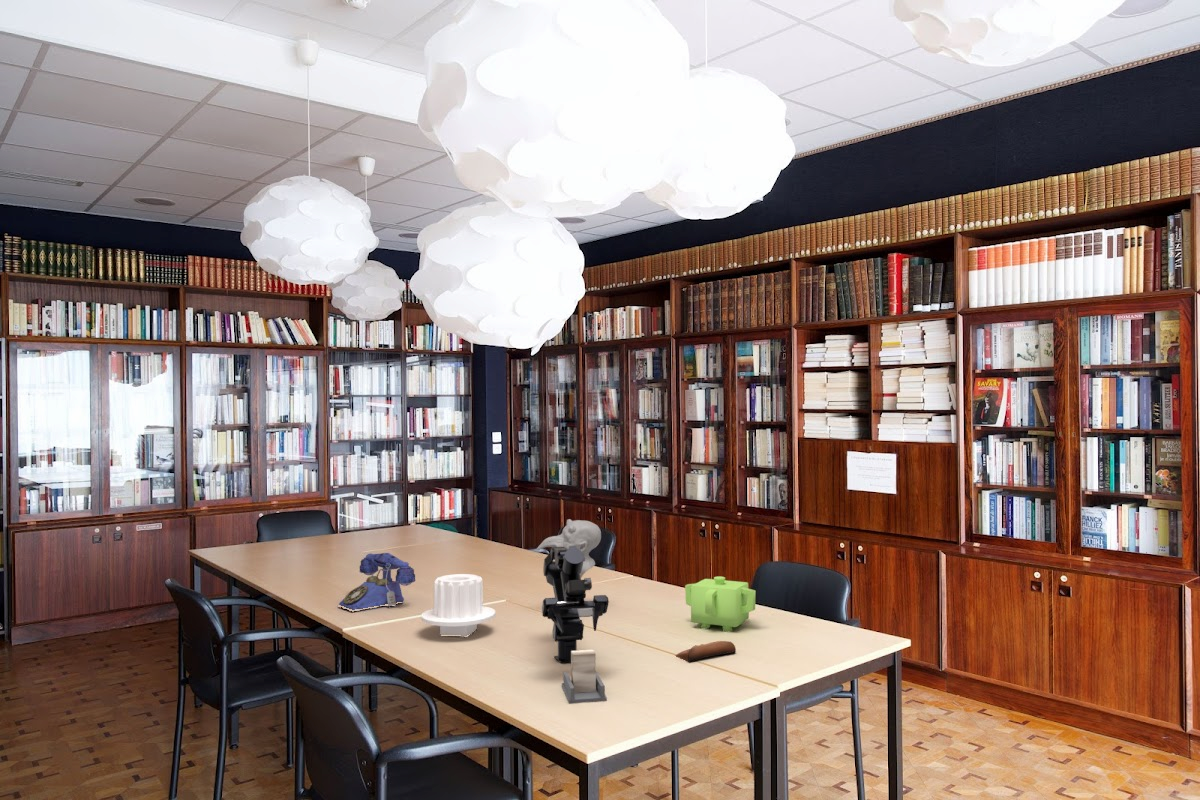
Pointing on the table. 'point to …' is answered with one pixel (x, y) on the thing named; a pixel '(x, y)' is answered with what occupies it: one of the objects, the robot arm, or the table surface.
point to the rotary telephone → (380, 582)
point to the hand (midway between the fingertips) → (579, 631)
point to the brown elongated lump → (707, 650)
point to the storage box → (720, 602)
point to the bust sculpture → (577, 545)
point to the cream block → (583, 670)
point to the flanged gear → (458, 605)
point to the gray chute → (583, 696)
